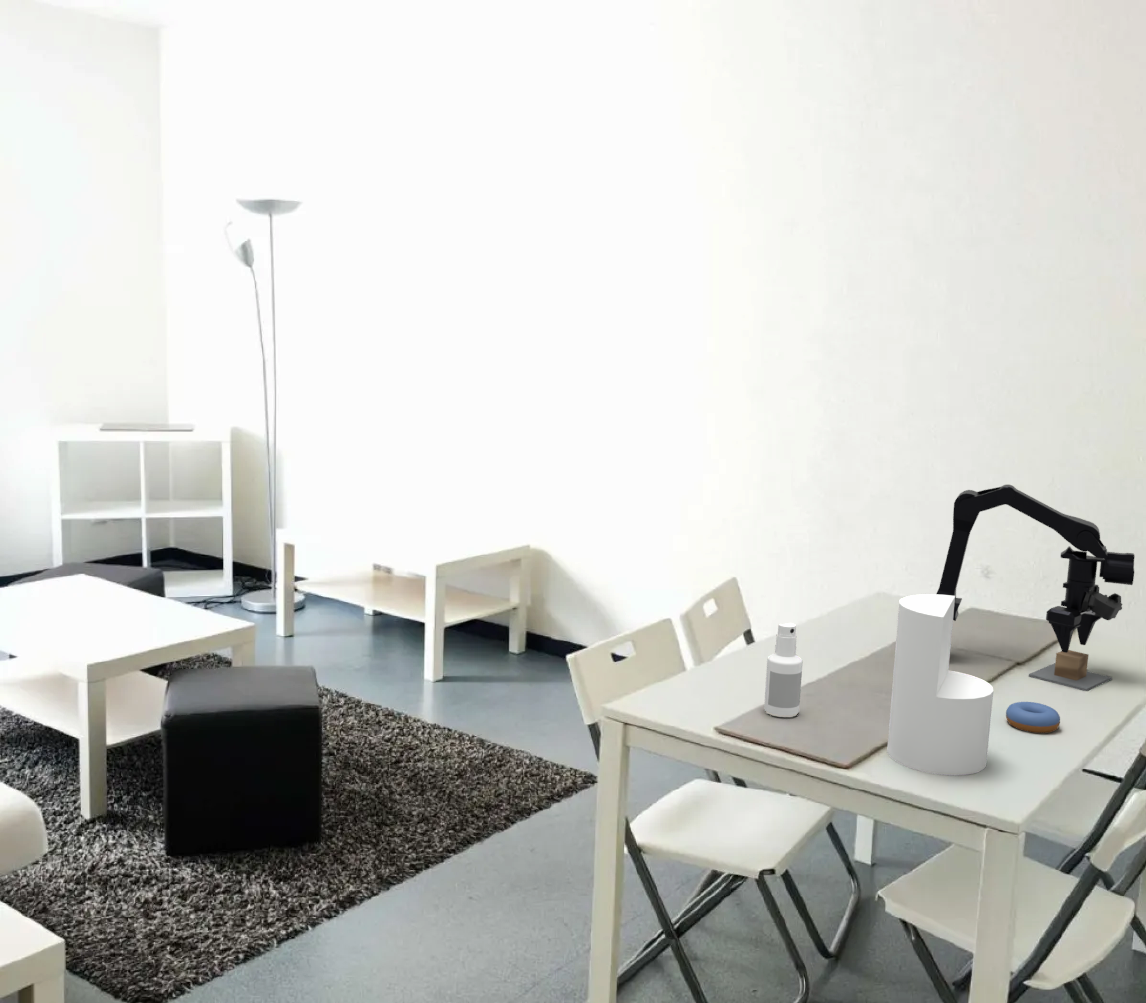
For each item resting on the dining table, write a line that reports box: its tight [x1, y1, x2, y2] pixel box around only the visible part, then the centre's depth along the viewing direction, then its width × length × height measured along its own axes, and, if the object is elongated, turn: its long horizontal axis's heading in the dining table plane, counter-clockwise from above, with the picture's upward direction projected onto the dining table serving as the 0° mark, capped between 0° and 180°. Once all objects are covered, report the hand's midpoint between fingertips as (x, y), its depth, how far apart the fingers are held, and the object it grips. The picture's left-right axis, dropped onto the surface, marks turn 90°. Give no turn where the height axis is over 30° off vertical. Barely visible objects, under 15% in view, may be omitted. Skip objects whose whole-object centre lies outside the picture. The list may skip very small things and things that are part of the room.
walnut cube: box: [1054, 649, 1089, 681], centre depth 267 cm, size 5×5×5 cm
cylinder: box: [886, 593, 994, 776], centre depth 216 cm, size 17×17×28 cm
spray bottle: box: [763, 622, 804, 715], centre depth 237 cm, size 7×7×18 cm
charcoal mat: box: [1028, 662, 1113, 692], centre depth 268 cm, size 13×13×1 cm
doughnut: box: [1005, 701, 1061, 734], centre depth 236 cm, size 10×10×5 cm
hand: (1073, 648), depth 267 cm, fingers open, 9 cm apart
